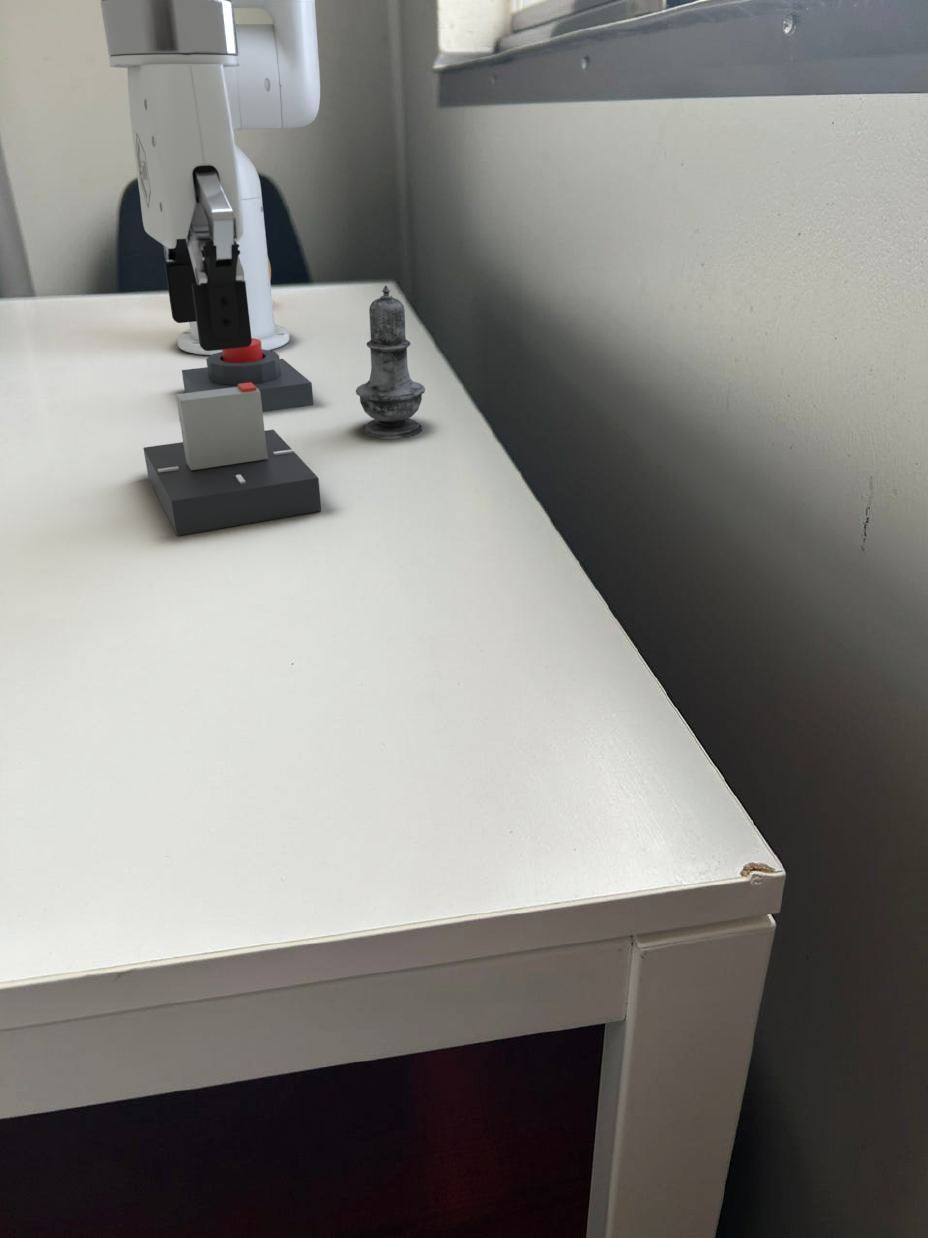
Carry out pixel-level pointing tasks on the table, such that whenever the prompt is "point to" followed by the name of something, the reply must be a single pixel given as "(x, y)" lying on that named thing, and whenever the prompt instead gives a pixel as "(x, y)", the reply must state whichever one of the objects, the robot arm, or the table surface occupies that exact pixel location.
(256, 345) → the stop button
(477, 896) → the table surface
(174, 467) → the dark grey base block
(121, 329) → the table surface
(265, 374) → the stop housing
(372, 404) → the salt shaker
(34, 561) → the table surface
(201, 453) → the timer knob
